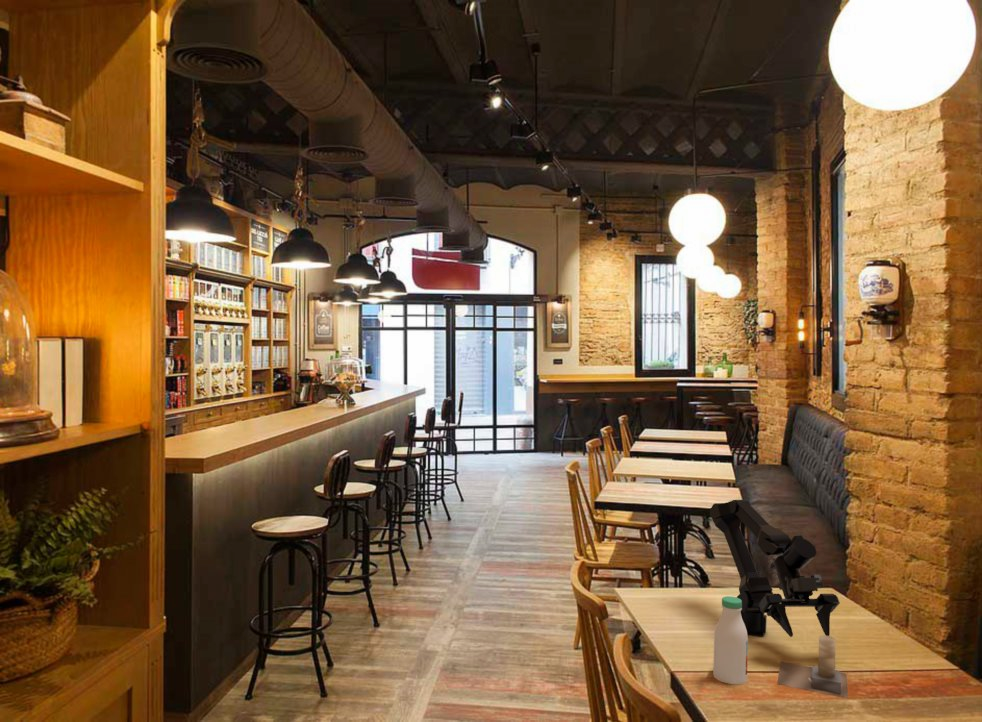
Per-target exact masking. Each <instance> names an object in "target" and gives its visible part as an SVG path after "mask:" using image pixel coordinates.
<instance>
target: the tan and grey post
mask: <svg viewBox="0 0 982 722" xmlns="http://www.w3.org/2000/svg"><path fill="white" fill-rule="evenodd" d="M836 643H837V640H836V638H835V637H833V636H830V635H829V636H826V635H825V634H824V635H823V634H822V635H819V636H818V657H817V659H818V661H817V663H818V665H817V666H815V665H812V667H813V672H812V688H813V689H818V690H823V691H828V692H833V693H839V694H841V675H840V672H841V670H837V669H836V652H837V651H836V650H837V648H836V647H837V644H836Z"/></svg>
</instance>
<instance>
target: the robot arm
mask: <svg viewBox="0 0 982 722" xmlns="http://www.w3.org/2000/svg"><path fill="white" fill-rule="evenodd" d="M709 516H710V517H711V521H712V522H713V524H714V526H715V527H716V528H717V529H718V530H719V531H721V532H722V533H723V535H724V537H725V538H724V539H725V540H726V542H727V546H728V547H729V548H728V549H729V550H730V553H731V557H732V560H733V561H734V564H735V566H736V569H737V572H738V575H739V578H740V583H739V587H738V592H739V594H738V595H737V596H736V598H739V599H741V600H742V610H741V616H742V620H743V622H744V624H745V627H746V630H747V635H752V636H757V637H764V635H765V633H767V623H768V620H767V619H768V618H767V617H771V618H772V620H774V621H775V622H776V623H777V624H778V625H779V626H780V627H781V628H782V629H783V631H784V632H785V633H786V634H787V635H788V636H789V637H790V638H792V637H793V636H794V633H793V629H792V626H791V623H790V620H789V618H788V616H787V615H788V614H787V612H786V608H788V607H789V608H798V607H799V608H808V607H809V608H814V610H815V611H816V614H815V616H816V617H817V619H818V622H819V625H820V627H821V629H822V631H823V634H824V635H826V636H830V635H831V634H830V631H831V629H830V628H831V625H830V622H831V621H830V619H831V613H833V611H834V610H836V608H837V607H838V606H839V605H840V603H841V602H840V600H839V598H838V597H839V596H837V595H836V594H835V593H820V594H819V595H818V596H817V598H810V597H812V596H813V595H814V593H813V592H818V591H819V589H821V588H824V581H823V578H822V576H821V574H813V575H812V574H811V575H810V577H805V575H802V574H801V571H800V570H801V569H803V568H805V566H807V565H808V564H809V563H810V562H811V561H812V560H813V559H814V558H815V557H816V555H817V549H816V546H815V545H813V544H812V542H810V541H809V540H807V539H805V538H804V537H803V535H802V534H799V535H798V534H796V535H794V536H793V537H792V539H791V537H790V536H789V535H788V534H787V533H786V532H784V531H783V530H781V529H779V528H777V527H774V526H771V524H769V522H767V521H766V520H765V519H764V517H763V516H761V515H760V513H759V512H757V510H756V509H755V508H754V507H753V506H751V503H750V501H749V500H746V499H733V500H730V501H728V502H718V503H713V504H712V506H711V507H710V509H709ZM742 523H743V524H744V525H745V526H746V527H747V529H749V531H750V532H751V533H752V534H753V535H754V536H755V537H756V539H757V541H756V544H757V546H758V548H759V549H760V550H761V552H762V553H763V554H764V555H765V556H768V557H770V556H777V557H776V558H773V559H772V562H771V563H770V565H769V568H770V569H771V570H775V573H776V575H777V578H778V581H779V585H778V588H779V591H782V594H783V596H782V594H780V593H774V592H773V588H772V586H771V585H770V584H771V583H770V581H769V579H768V577H767V576H761V575H760V574H759V573H758V570H757V567H756V566H755V562H754V561H753V558H752V555H751V553H750V551H749V547H748V545H747V542H746V540H745V537H744V534H743V532H742V530H741V524H742ZM783 597H784V598H783Z"/></svg>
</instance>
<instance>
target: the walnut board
mask: <svg viewBox="0 0 982 722" xmlns="http://www.w3.org/2000/svg"><path fill="white" fill-rule="evenodd" d="M778 669H779V670H778V675H777V676H778V677H777V683H776V684H777V685H778V686H783V687H789V688H793V689H798V690H804V691H809V692H815V693H819V694H824V695H829V696H833V697H839V698H844V699H849V690H848V678H847V677H848V675H847V673H845V672H841V671H840V675H841V694H839V693H833V692H828V691H823V690H818V689H813V688H812V672H813V666H807V665H801V664H797V663H791V662H785V661H780V662H779V667H778Z"/></svg>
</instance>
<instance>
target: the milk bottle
mask: <svg viewBox="0 0 982 722" xmlns="http://www.w3.org/2000/svg"><path fill="white" fill-rule="evenodd" d="M736 597H737V596H736ZM736 597H735V596H723V597H722V598H721V608H722V611H721V614H720V617H719V619H718V620H717V623H716V626H715V628H714V640H713V664H712V666H713V667H712V669H713V670H712V672H713V673H712V674H713V677H714V678H715V679H716V680H718V681H719V682H722V683H725V684H730V685H742V684H745V683H746V682H747V681H748V663H749V662H748V659H749V658H748V657H749V656H748V650H749V644H748V643H749V639H748V638H749V637H748V634H747V630H746V627H745V624H744V622H743V620H742V616H741V610H742V600H741V599H739V598H736Z"/></svg>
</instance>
